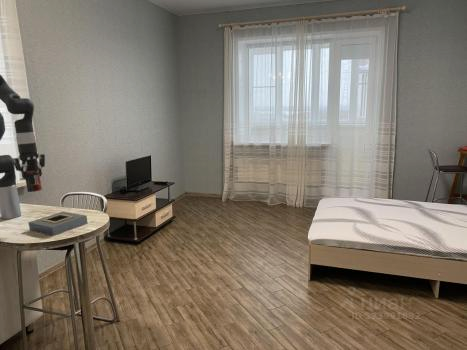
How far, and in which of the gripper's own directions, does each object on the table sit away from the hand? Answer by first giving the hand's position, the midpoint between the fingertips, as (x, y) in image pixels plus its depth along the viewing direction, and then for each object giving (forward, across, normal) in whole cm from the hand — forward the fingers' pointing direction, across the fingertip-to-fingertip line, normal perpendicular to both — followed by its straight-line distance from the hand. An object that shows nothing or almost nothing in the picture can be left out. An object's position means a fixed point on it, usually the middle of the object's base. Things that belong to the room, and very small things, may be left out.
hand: (32, 177), depth 162 cm
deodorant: (+6, 0, 0) cm, 6 cm away
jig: (+24, -4, +9) cm, 26 cm away
